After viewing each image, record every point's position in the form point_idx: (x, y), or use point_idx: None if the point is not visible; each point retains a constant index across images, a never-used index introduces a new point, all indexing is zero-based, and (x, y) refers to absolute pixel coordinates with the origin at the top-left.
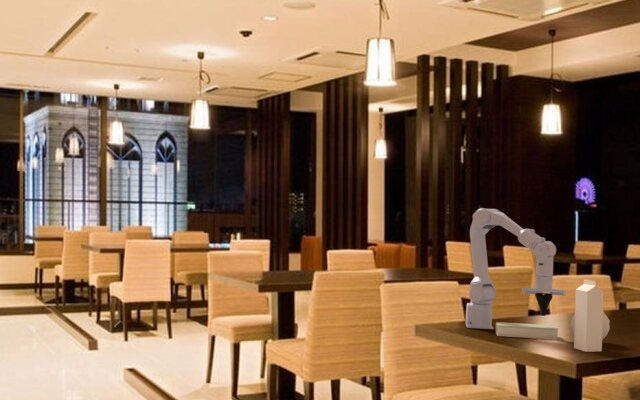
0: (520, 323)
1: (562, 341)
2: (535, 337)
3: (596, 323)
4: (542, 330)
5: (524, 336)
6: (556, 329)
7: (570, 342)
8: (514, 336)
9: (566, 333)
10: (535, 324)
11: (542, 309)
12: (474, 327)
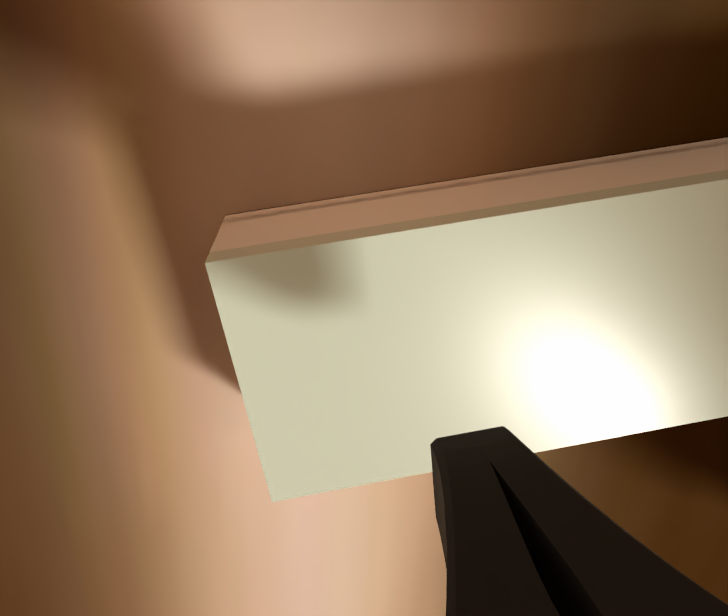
0: (674, 424)
1: (150, 77)
2: (486, 176)
3: None
4: (428, 215)
5: (614, 157)
6: (228, 252)
7: (32, 39)
8: (720, 141)
9: (170, 600)
10: None
11: (557, 505)
12: None
